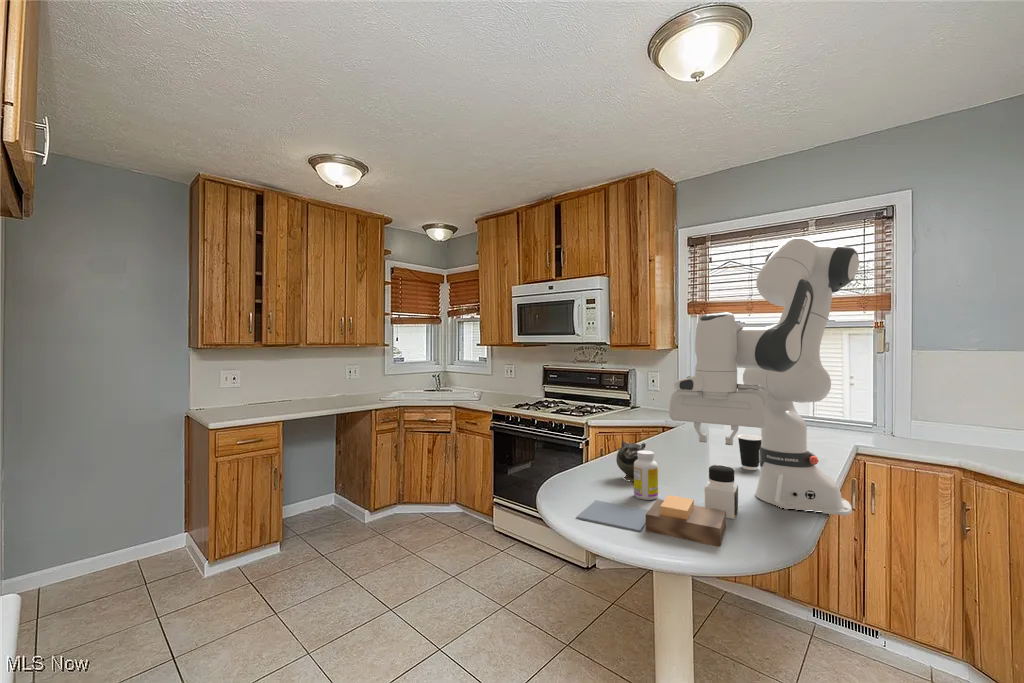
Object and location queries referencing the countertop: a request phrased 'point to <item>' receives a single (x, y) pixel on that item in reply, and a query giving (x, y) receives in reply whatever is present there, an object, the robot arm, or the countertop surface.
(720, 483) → the medicine bottle
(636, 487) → the supplement bottle
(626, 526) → the mat
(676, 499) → the tile
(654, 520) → the wooden block
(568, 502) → the countertop surface
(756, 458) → the dixie cup
